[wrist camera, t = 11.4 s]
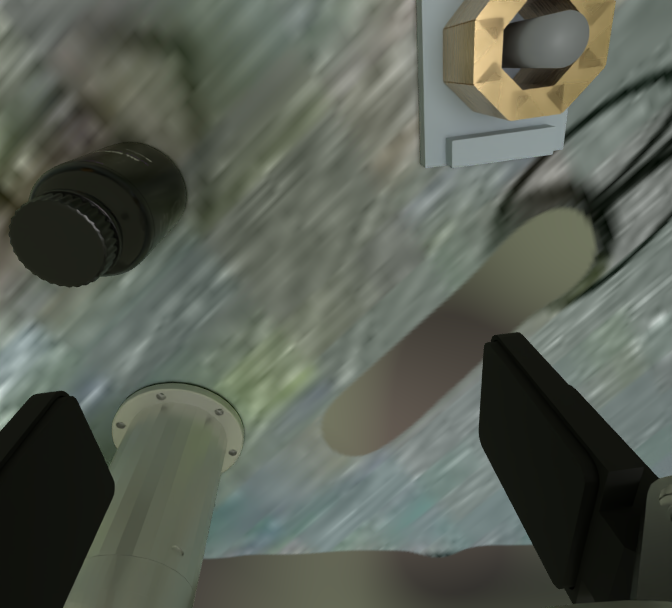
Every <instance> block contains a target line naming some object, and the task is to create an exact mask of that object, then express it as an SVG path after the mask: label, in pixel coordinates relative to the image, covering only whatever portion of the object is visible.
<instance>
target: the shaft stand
mask: <svg viewBox="0 0 672 608" xmlns="http://www.w3.org/2000/svg"><path fill="white" fill-rule="evenodd" d="M463 1H464V0H416V8H417V46H418V84H419V122H420V160H421V165H422V166H423V167H425V168H430V167H438V166H445V165H448V166H450V167H451V168H457V167H464V166H471V165H478V164H486V163H493V162H500V161H508V160H515V159H522V158H530V157H537V156H544V155H552V154H553V151H554V150H562V149H563V144H564V136H565V128H566V120H567V112H568V108H567V109H566V110H565V111H564V112H563V113H561V114H557V115H550V116H542V117H535V118H528V119H521V120H514V121H508V120H504V119H500V118H496V117H492V116H489V115H485V114H481V113H477V112H473V111H472V110H471V109H470V108H469V107H468V106H467V105H466V104H465V103H464V102H463V101H462V100H461V99H460V98H459V97H458V96H457V95H456V94H455V93H454V92H453V91H452V90H451V89H450V88H449V87H448V86H447V85H446V84H445V83H443V82H444V81H443V30H444V29H443V28H444V27H445V25H446V24H447V23H448V21H449V20H450V19H451V17H452V16H453V15H454V13H455V12H456V11H457V9H458V8H459V7H460V5H461V4H462V3H463ZM588 40H589V25H588V22H587V19H586V18H585V16H584V15H583V14H581V13H580V12H578V11H575V10H566V11H562V12H557V13H553V14H549V15H544V16H540V17H535V18H531V19H526V20H524V19H523V17H522V16H521V15H520V14H519V13H517V14H516V15H515V16H514V18H513V19H512V20H511V21H510V22H509V24H508V25H507V26H506V27H505V29H504V30H503V49H502V69H503V70H504V71H505V72H506V73H507V74H508V75H509V76H510V78H511V79H513V78H514V76H515V75H516V74H517V73H518V72H519V71H520V69H521V68H563V67H566V66H569V65H571V64H572V63H574V62H575V61H576V60H577V59H578V58H579V57H580V56H581V55H582V53H583V52H584V50H585V48H586V46H587V43H588Z"/></svg>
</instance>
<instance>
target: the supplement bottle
mask: <svg viewBox="0 0 672 608" xmlns="http://www.w3.org/2000/svg"><path fill="white" fill-rule="evenodd" d="M185 205H186V189H185V185H184V181H183V179H182V176H181V174H180V173H179V171H178V169H177V168H176V166H175V165H174V164H173V163H172V162H171V161H170V160H169V159H168V158H167V157H166V156H165V155H164V154H162V153H161V152H159V151H158V150H156V149H154V148H152V147H150V146H147V145H144V144H140V143H134V142H125V143H118V144H115V145H112V146H108V147H106V148H103V149H100V150H98V151H95V152H92V153H89V154H87V155H84V156H81V157H79V158H76V159H73V160H71V161H68V162H65V163H63V164H60V165H58V166H56V167H54V168H52V169H50V170H48V171H47V172H45V173H44V174H43V175H42V176H41V177H40V178H39V179H38V180H37V181H36V183H35V184H34V186H33V188H32V190H31V193H30V196H29V201H28V202H27V203H25V204H23V205H22V206H21V208H20V209H18V210H16V212H15V216H13V217H12V218H11V224H10V225H9V229H10V232H9V237H10V239H11V240H10V244H11V245H12V246H13V251H14V253H15V254H16V255H17V256H18V259H19V261H21V262H22V263H23V264H24V266H25V268H27V269H29V270H30V271H31V272H32V273H33V274H34V275H37V276H38V277H39V278H41V279H42V280H46V281H48V282H49V283H51V284H57V285H59V286H66V287H72V286H74V287H80V286H81V285H88V284H89V283H90V282H94V281H96V280H97V279H98V278H99V277H107V276H115V275H119V274H123V273H125V272H128V271H130V270H131V269H133V268H135V267H136V266H137V265H138V264H140V263H141V262H142V261H143V260H144V259H145V258H146V257H147V256H148V254H149V253H150V252H151V251H152V250H153V249H154V248H155V247H156V246H157V244H158V243H159V242H160V241H161V240H162V239H163V238H164V237H165V236H166V235H167V233H168V232H169V231H170V230H171V229H172V228H173V227H174V226H175V224H176V223H177V222H178V221H179V219H180V218H181V216H182V214H183V212H184V209H185Z"/></svg>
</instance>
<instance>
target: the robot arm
mask: <svg viewBox="0 0 672 608" xmlns="http://www.w3.org/2000/svg"><path fill="white" fill-rule="evenodd" d="M112 437H113V441H114V444H115V446H116V448H117V451H116V453H115V455H114V457H113V459H112V461H111V463H110V465H109V467H108V466H107V464H106V462H105V460H104V457H103V455H102V453H101V451H100V449H99V447H98V444H97V442H96V440H95V438H94V436H93V434H92V431H91V429H90V427H89V425H88V423H87V421H86V418H85V416H84V414H83V412H82V410H81V408H80V405H79V403H78V401H77V400H76V398H75V397H73V396H69V395H68V394H67V393H66V392H65V391H56V392H48V393H40V394H35V395H33V396H31V397H30V398H29V399H28V400H27V402H26V403H25V404H24V405H23V406H22V407H21V408H20V410H19V411H18V412H17V413H16V414H15V415H14V416H13V418H12V419H11V420H10V421H9V422H8V423H7V424H6V426H5V427H4V428H3V429H2V430H1V431H0V608H193V603H194V599H195V593H196V589H197V584H198V580H199V575H200V570H201V566H202V561H203V556H204V552H205V547H206V542H207V537H208V533H209V528H210V523H211V519H212V514H213V509H214V506H215V500H216V495H217V490H218V486H219V481H220V476H221V473H223V472H224V471H226V470H228V469H229V468H230V467H231V466H232V465H233V464H234V463H235V462H236V460H237V459H238V457H239V456H240V453H241V450H242V448H243V442H244V428H243V425H242V421H241V419H240V417H239V416H238V414H237V412H236V411H235V410H234V409H233V407H232V406H231V405H230V404H229V403H228V402H226V401H225V400H224V399H222V398H221V397H220V396H218V395H216V394H214V393H212V392H210V391H208V390H206V389H203V388H200V387H197V386H192V385H187V384H179V383H166V384H157V385H153V386H149V387H146V388H144V389H141V390H139V391H137V392H135V393H134V394H132V395H131V396H130V397H128V398H127V399H126V400H125V401H124V402H123V404H122V405H121V406H120V408H119V410H118V411H117V413H116V415H115V417H114V420H113V423H112ZM479 438H480V442H481V445H482V447H483V449H484V451H485V453H486V455H487V457H488V459H489V461H490V463H491V465H492V467H493V469H494V471H495V473H496V475H497V476H498V478H499V480H500V482H501V484H502V486H503V488H504V490H505V492H506V494H507V496H508V498H509V500H510V501H511V503H512V505H513V507H514V509H515V511H516V513H517V515H518V517H519V519H520V521H521V523H522V525H523V527H524V528H525V530H526V532H527V534H528V536H529V538H530V540H531V542H532V544H533V546H534V548H535V550H536V551H537V553H538V555H539V557H540V559H541V561H542V563H543V565H544V567H545V569H546V571H547V573H548V575H549V577H550V579H551V580H552V582H553V584H554V585H555V586H556V587H557V588H558V589H563V588H565V590H566V592H567V594H568V596H569V598H570V600H571V601H572V603H573V604H571V605H563V606H555V607H547V608H672V476H667V477H663V478H658V477H657V476H656V475H655V474H654V473H653V472H652V470H651V469H650V468H649V467H648V466H647V465H646V464H645V463H644V462H643V461H642V460H641V459H640V458H639V457H638V455H637V454H636V453H635V452H634V451H633V450H632V449H631V448H630V447H629V446H628V445H627V444H626V443H625V442H624V440H623V439H622V438H621V437H620V436H619V435H618V434H617V433H616V432H615V431H614V430H613V429H612V428H611V427H610V425H609V424H608V423H607V422H606V421H605V420H604V419H603V418H602V417H601V416H600V415H599V414H598V413H597V412H596V410H595V409H594V408H593V407H592V406H591V405H590V404H589V403H588V402H587V401H586V400H585V399H584V398H583V397H582V395H581V394H580V393H579V392H578V391H577V390H576V389H575V388H573V387H572V386H571V385H568V384H567V382H566V381H565V380H564V379H563V378H562V377H561V376H560V375H559V374H558V373H557V372H556V371H555V370H554V368H553V367H552V366H551V365H550V364H549V363H548V362H547V361H546V360H545V359H544V358H543V357H542V355H541V354H540V353H539V352H538V351H537V350H536V349H535V348H534V347H533V346H532V345H531V344H530V342H529V341H528V340H527V339H526V338H525V337H524V336H523V335H522V334H521V333H519V332H516V333H508V334H500V335H494V336H493V337H492V339H491V342H488V343H485V345H484V354H483V369H482V385H481V401H480V417H479Z"/></svg>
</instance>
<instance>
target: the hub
mask: <svg viewBox="0 0 672 608" xmlns="http://www.w3.org/2000/svg"><path fill="white" fill-rule="evenodd" d="M615 2H616V1H614V0H464V1H463V3H462V4H461V5H460V7H459V8H458V9H457V11H456V12H455V13H454V15H453V16H452V17H451V19H450V20H449V21H448V23H447V24H446V25H445V27H444V28H443V29H444V30H443V81H444V82H443V83H445V84H446V85H447V86H448V87H449V88H450V89H451V90H452V91H453V92H454V93H455V94H456V95H457V96H458V97H459V98H460V99H461V100H462V101H463V102H464V103H465V104H466V105H467V106H468V107H469V108H470V109H471V110H472V111H473V112H477V113H481V114H485V115H489V116H492V117H496V118H500V119H504V120H508V121H514V120H521V119H528V118H535V117H542V116H550V115H557V114H561V113H563V112H564V111H565V110H566V109H567V108H568V107H569V105H570V104H571V103H572V102H573V101H574V100H575V99H576V98H577V97H578V96H579V95H580V94H581V92H582V91H583V90H584V89H585V88H586V87H587V86H588V85H589V84H590V83H591V82H592V80H593V79H594V78H595V77H596V76H597V75H598V74H599V73H600V72H601V71H602V70H603V69H604V67H605V65H606V61H607V54H608V48H609V41H610V35H611V28H612V22H613V15H614V9H615ZM566 10H575V11H578V12H580V13H581V14H583V15H584V16H585V18H586V19H587V22H588V25H589V40H588V43H587V46H586V48H585V50H584V52H583V53H582V55H581V56H580V57H579V58H578V59H577V60H576V61H575V62H574V63H572V64H571V65H569V66H566V67H563V68H521V69H520V71H519V72H518V73H517V74H516V75H515V76H514V78H513V79H511V78H510V76H509V75H508V74H507V73H506V72H505V71H504V70H503V69H502V49H503V30H504V29H505V27H506V26H507V25H508V24H509V22H510V21H511V20H512V19H513V18H514V16H515V15H516V14H517V13H519V14H520V15H521V16H522V17H523V19H524V20H526V19H531V18H535V17H540V16H544V15H549V14H553V13H557V12H562V11H566Z"/></svg>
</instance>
